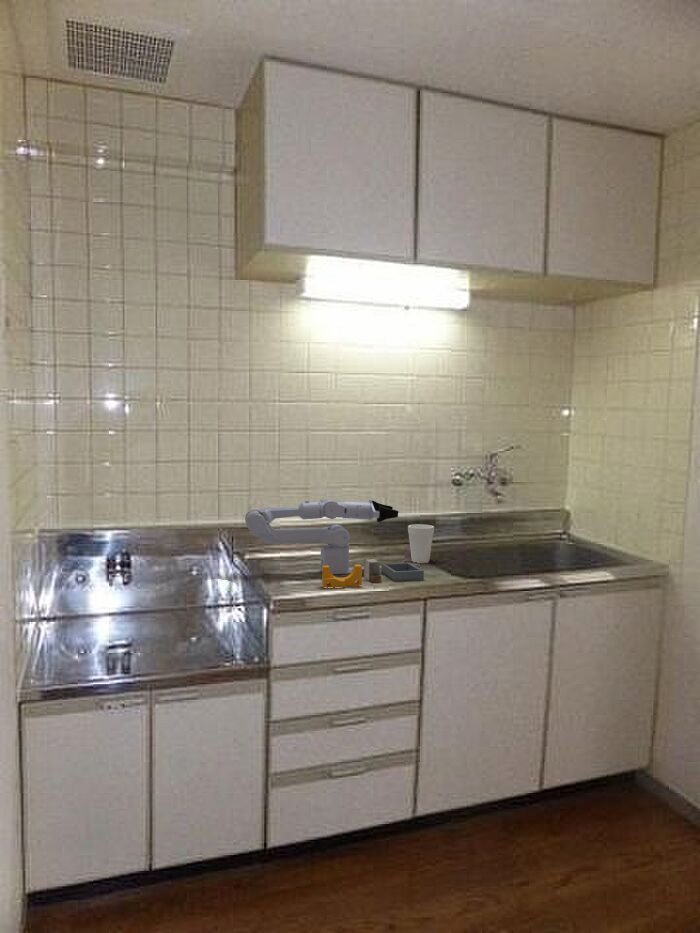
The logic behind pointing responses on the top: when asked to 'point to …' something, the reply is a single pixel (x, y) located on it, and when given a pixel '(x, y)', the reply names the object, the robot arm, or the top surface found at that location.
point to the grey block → (370, 568)
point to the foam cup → (420, 542)
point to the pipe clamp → (333, 581)
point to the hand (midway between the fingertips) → (395, 511)
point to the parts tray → (402, 571)
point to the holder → (374, 577)
